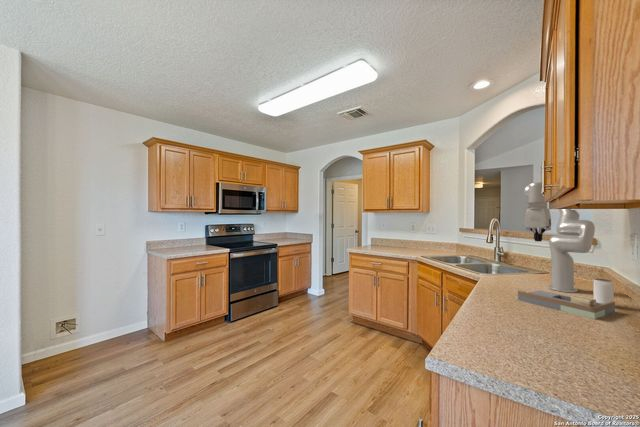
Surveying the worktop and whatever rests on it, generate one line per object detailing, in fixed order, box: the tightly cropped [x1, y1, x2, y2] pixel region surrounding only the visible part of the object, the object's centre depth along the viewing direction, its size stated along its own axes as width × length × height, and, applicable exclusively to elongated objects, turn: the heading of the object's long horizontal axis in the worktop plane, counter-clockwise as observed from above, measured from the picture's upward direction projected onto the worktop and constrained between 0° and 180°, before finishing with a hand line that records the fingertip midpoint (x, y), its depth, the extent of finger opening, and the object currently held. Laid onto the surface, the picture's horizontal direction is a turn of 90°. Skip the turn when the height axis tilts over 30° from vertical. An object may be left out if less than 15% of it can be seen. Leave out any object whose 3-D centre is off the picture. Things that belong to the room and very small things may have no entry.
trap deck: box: [517, 290, 616, 320], centre depth 124 cm, size 20×28×4 cm
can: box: [592, 278, 615, 304], centre depth 124 cm, size 6×6×12 cm
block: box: [570, 295, 596, 307], centre depth 113 cm, size 6×6×4 cm
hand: (538, 241), depth 137 cm, fingers closed
